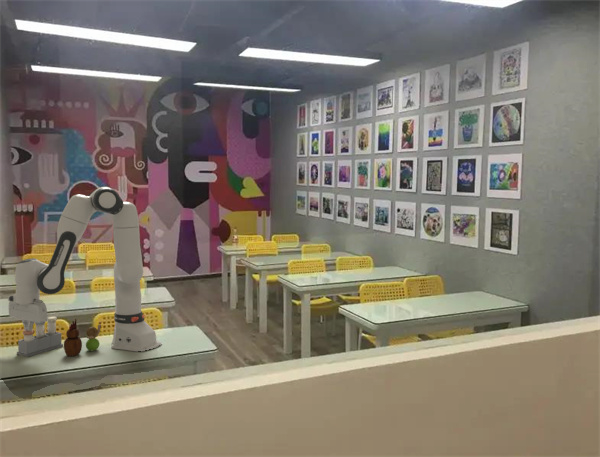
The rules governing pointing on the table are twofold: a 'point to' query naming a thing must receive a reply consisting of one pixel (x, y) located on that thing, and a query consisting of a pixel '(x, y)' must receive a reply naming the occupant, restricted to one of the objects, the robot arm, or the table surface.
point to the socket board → (39, 345)
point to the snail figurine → (93, 338)
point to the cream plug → (51, 325)
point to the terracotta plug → (28, 335)
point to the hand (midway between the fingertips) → (28, 330)
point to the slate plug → (40, 330)
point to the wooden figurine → (72, 341)
